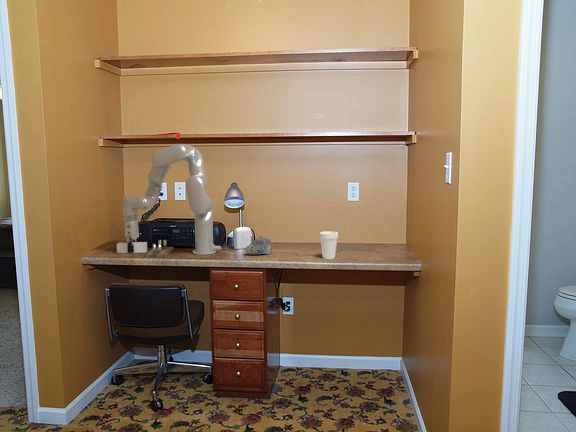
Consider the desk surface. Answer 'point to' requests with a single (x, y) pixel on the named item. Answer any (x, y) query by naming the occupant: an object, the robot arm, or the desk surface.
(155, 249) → the peg stand
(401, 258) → the desk surface
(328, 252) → the foam cup
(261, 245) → the mineral rock
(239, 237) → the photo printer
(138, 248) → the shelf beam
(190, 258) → the desk surface
